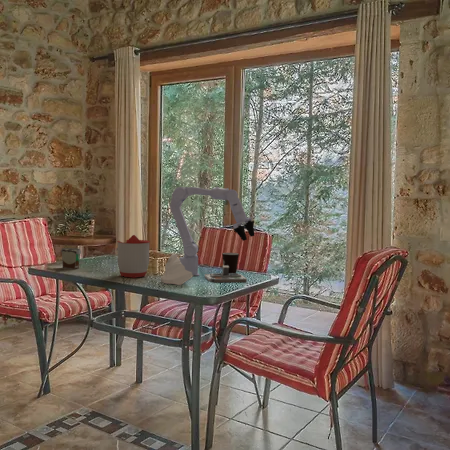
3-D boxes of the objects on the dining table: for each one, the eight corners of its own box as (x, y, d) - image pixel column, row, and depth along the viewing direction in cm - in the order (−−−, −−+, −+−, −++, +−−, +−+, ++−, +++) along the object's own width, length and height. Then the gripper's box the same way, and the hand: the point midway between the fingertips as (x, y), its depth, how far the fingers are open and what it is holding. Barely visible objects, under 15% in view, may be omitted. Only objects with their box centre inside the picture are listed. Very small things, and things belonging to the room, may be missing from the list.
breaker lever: (222, 276, 241) (222, 266, 241) (220, 275, 244) (221, 265, 244) (230, 276, 242) (230, 266, 242) (228, 275, 245) (229, 265, 245)
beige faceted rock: (167, 289, 221) (159, 258, 220) (161, 286, 236) (154, 256, 235) (194, 281, 225) (186, 250, 224) (187, 278, 239) (179, 249, 238)
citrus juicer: (129, 271, 256) (129, 232, 254) (156, 275, 247) (156, 235, 245) (106, 275, 242) (107, 234, 241) (134, 280, 233) (135, 237, 232)
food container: (86, 268, 263) (86, 249, 262) (77, 269, 258) (77, 250, 257) (70, 265, 269) (70, 247, 269) (60, 267, 264) (61, 248, 264)
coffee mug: (236, 274, 257) (237, 255, 256) (220, 273, 258) (220, 254, 258) (240, 271, 268) (241, 252, 267) (224, 270, 270) (225, 251, 269)
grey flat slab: (209, 281, 236) (209, 276, 235) (204, 276, 247) (204, 272, 247) (246, 280, 239) (246, 276, 239) (240, 276, 251) (240, 272, 251)
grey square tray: (211, 282, 233) (211, 279, 233) (205, 276, 249) (205, 273, 249) (246, 282, 236) (246, 279, 236) (237, 276, 252) (237, 273, 252)
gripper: (237, 213, 241) (247, 240, 241) (252, 206, 253) (262, 232, 253) (226, 217, 245) (236, 243, 246) (241, 211, 257) (251, 235, 257)
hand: (248, 238), depth 250 cm, fingers open, 7 cm apart
